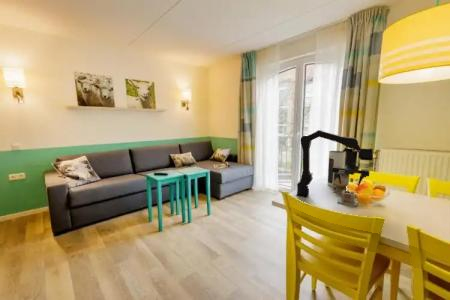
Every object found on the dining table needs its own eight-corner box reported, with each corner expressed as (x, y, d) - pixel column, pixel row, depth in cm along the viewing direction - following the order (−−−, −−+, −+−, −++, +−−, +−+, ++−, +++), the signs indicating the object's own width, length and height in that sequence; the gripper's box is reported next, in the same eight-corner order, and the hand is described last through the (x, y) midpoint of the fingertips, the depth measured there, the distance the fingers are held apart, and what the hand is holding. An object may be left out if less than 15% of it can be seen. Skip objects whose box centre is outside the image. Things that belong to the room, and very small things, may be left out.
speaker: (325, 183, 165) (327, 149, 161) (339, 183, 164) (341, 149, 160) (330, 187, 155) (332, 152, 151) (345, 187, 154) (348, 152, 150)
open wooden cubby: (342, 198, 132) (342, 189, 131) (353, 199, 129) (354, 190, 128) (341, 201, 127) (341, 192, 126) (353, 203, 124) (353, 193, 123)
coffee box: (332, 191, 146) (333, 169, 144) (333, 189, 151) (334, 167, 149) (347, 194, 141) (349, 170, 139) (348, 191, 146) (349, 168, 144)
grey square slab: (337, 203, 127) (337, 194, 126) (339, 197, 135) (340, 189, 134) (357, 207, 121) (358, 198, 120) (358, 201, 129) (359, 192, 128)
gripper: (331, 160, 123) (329, 186, 125) (370, 163, 112) (367, 191, 115) (334, 157, 132) (332, 181, 134) (370, 159, 121) (368, 186, 124)
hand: (349, 185), depth 126 cm, fingers open, 9 cm apart
